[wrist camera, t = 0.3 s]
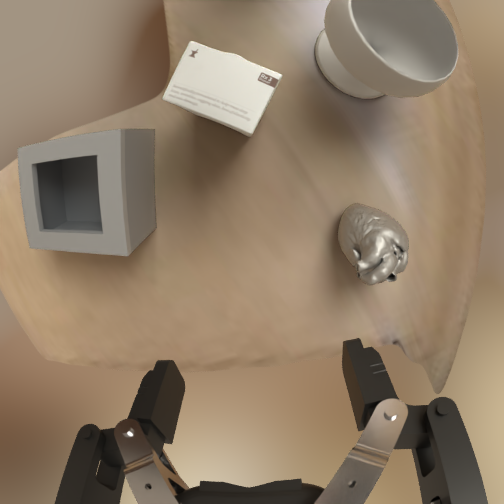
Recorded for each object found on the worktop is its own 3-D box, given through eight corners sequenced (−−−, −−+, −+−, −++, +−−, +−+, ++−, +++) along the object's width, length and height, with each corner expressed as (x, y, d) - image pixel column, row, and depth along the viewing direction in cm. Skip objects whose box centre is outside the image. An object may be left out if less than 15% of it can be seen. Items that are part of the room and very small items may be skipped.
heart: (404, 240, 38) (441, 262, 26) (356, 275, 40) (378, 310, 29) (371, 184, 36) (402, 187, 25) (319, 221, 39) (332, 239, 27)
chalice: (393, 24, 25) (448, -11, 11) (407, 109, 30) (476, 105, 17) (300, 13, 26) (322, -44, 12) (313, 104, 31) (350, 84, 17)
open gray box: (60, 141, 33) (17, 148, 24) (154, 129, 33) (120, 129, 24) (66, 224, 38) (30, 248, 29) (156, 227, 38) (128, 256, 29)
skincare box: (194, 114, 32) (153, 102, 18) (214, 74, 30) (185, 37, 16) (253, 139, 33) (250, 139, 20) (274, 98, 31) (284, 72, 17)
